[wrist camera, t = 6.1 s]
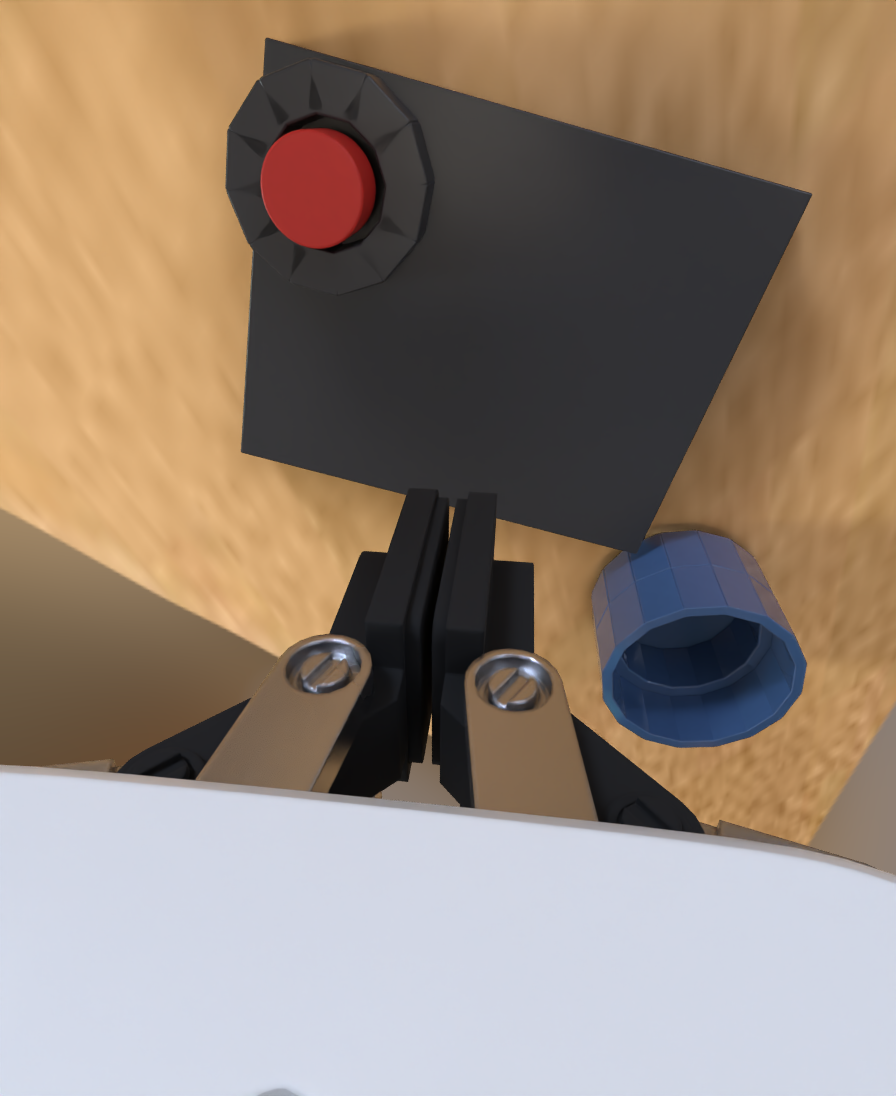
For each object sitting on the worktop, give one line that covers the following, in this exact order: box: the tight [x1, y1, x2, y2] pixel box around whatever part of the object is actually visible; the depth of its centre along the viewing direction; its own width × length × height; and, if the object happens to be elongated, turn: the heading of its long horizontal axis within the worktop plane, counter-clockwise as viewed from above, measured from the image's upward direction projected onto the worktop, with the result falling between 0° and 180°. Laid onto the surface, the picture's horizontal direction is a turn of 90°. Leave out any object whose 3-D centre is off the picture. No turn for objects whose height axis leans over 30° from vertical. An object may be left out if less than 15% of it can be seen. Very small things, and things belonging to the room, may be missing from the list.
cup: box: [591, 530, 807, 748], centre depth 27 cm, size 7×7×6 cm
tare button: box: [261, 128, 376, 249], centre depth 18 cm, size 3×3×2 cm
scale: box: [226, 38, 812, 554], centre depth 22 cm, size 16×13×4 cm
